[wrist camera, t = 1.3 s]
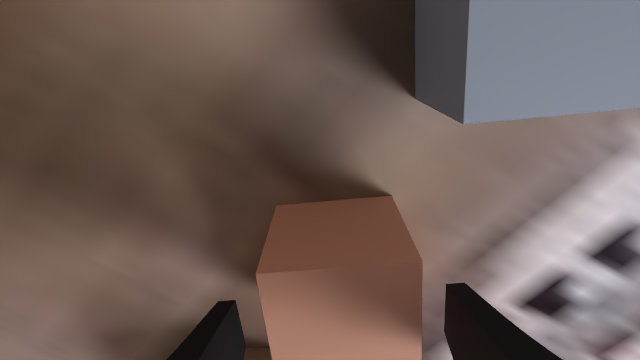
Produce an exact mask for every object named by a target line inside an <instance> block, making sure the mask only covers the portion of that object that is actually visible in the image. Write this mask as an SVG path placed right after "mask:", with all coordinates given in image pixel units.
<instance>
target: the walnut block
mask: <svg viewBox="0 0 640 360" xmlns="http://www.w3.org/2000/svg"><path fill="white" fill-rule="evenodd" d="M244 360H272V356H271V351H270V347H265V348H250V349H245V354H244Z"/></svg>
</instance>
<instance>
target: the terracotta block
mask: <svg viewBox="0 0 640 360" xmlns="http://www.w3.org/2000/svg"><path fill="white" fill-rule="evenodd" d="M256 279H257V284H258V289H259V295H260V300H261V305H262V310H263V315H264V320H265V325H266V330H267V336H268V341H269V346H270V351H271V356H272V360H422V259H421V257H420V255H419V253H418V251H417V249H416V246H415V244H414V242H413V240H412V238H411V236H410V234H409V232H408V229H407V227H406V225H405V223H404V221H403V219H402V217H401V214H400V212H399V210H398V208H397V206H396V204H395V202H394V200H393V197H392V195H391V196H379V197H367V198H356V199H344V200H332V201H321V202H309V203H297V204H286V205H276V208H275V211H274V215H273V218H272V221H271V225H270V228H269V231H268V234H267V238H266V241H265V244H264V248H263V251H262V254H261V258H260V261H259V264H258V267H257V271H256Z"/></svg>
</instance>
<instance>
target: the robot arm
mask: <svg viewBox="0 0 640 360" xmlns="http://www.w3.org/2000/svg"><path fill="white" fill-rule="evenodd" d="M444 332H445V335H446V338H447V342H448V345H449V348H450V351H451V354H452V357H453V360H562V359H561V358H559V357H558V356H556V355H555V354H553V353H552V352H551V351H549V350H548V349H546V348H545V347H544V346H542V345H541V344H539V343H538V342H537V341H535V340H534V339H533V338H531V337H530V336H529V335H527V334H526V333H525V332H523V331H522V330H521V329H519V328H518V327H517V326H516V325H514V324H513V323H512V322H511V321H509V320H508V319H507V318H506V317H504V316H503V315H502V314H501V313H499V312H498V311H497V310H496V309H495V308H494V307H492V306H491V305H490V304H489V303H488V302H486V301H485V300H484V299H483V298H482V297H481V296H479V295H478V294H477V293H476V292H475V291H474V290H472V289H471V288H470V287H469V286H468V285H467V284H465V283H455V284H446V300H445V324H444ZM245 348H246V344H245V340H244V335H243V331H242V326H241V322H240V318H239V313H238V309H237V305H236V300H231V301H218V302H217V303H216V305H215V306H214V307H213V308H212V309H211V310H210V311H209V312H208V314H207V315H206V316H205V317H204V318H203V319H202V321H201V322H200V323H199V324H198V325H197V326H196V328H195V329H194V330H193V331H192V332H191V333H190V334H189V336H188V337H187V338H186V339H185V340H184V341H183V342H182V343H181V344H180V346H179V347H178V348H177V349H176V350H175V351H174V352H173V353H172V354H171V355H170V356H169V357H168V358H167V359H166V360H244V354H245Z"/></svg>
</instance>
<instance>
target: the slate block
mask: <svg viewBox="0 0 640 360" xmlns="http://www.w3.org/2000/svg"><path fill="white" fill-rule="evenodd" d="M415 99H417V100H418V101H420V102H422V103H424V104H426V105H428V106H430V107H432V108H434V109H435V110H437V111H439V112H441V113H443V114H445V115H447V116H449V117H450V118H452V119H454V120H456V121H458V122H460V123H462V124H473V123H484V122H494V121H505V120H516V119H527V118H537V117H548V116H559V115H570V114H580V113H591V112H602V111H613V110H623V109H634V108H640V0H415Z"/></svg>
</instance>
